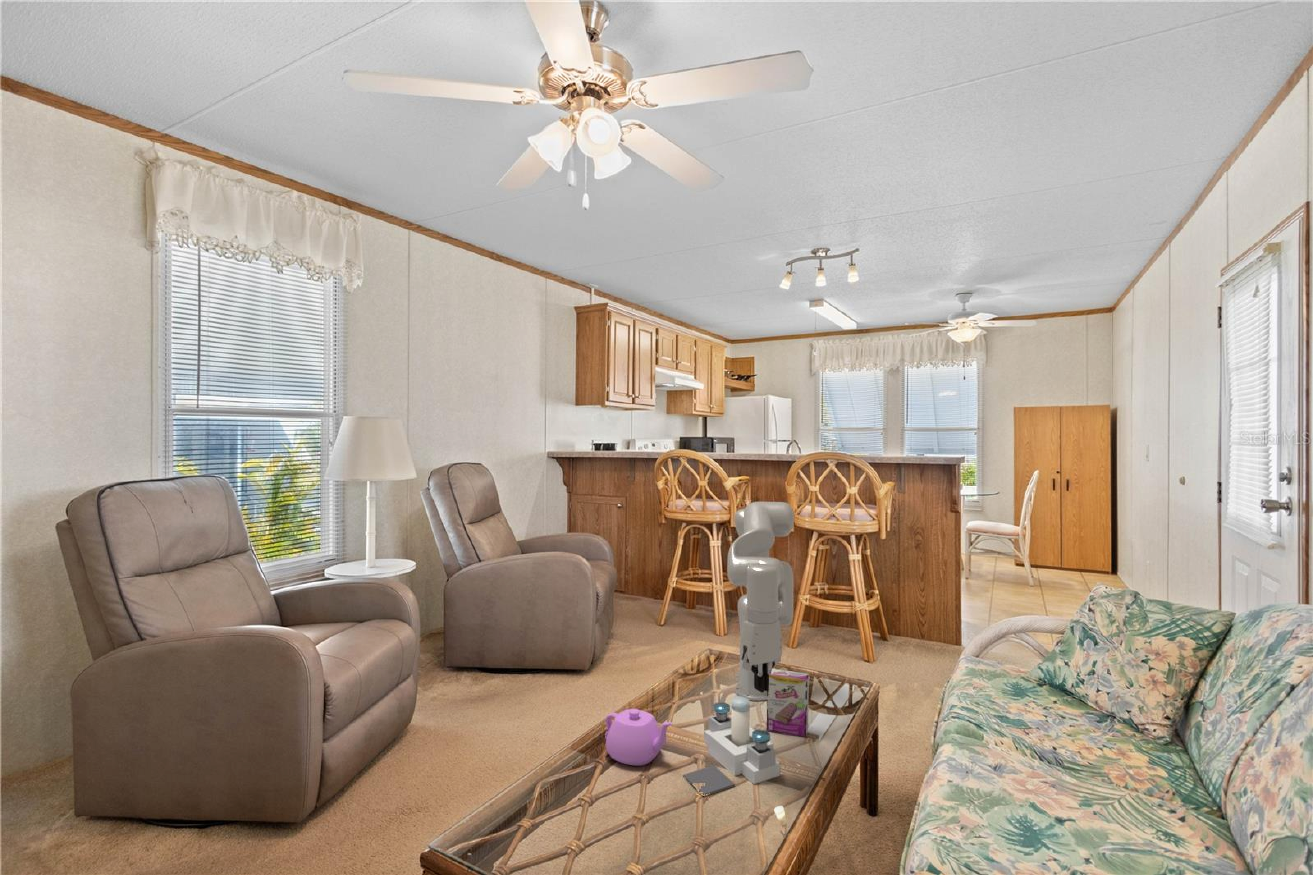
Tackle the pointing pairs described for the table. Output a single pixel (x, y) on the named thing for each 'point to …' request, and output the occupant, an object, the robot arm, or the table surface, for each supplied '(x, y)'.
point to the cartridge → (740, 721)
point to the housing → (740, 753)
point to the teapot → (634, 737)
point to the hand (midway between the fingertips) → (761, 689)
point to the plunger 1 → (721, 711)
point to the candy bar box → (788, 702)
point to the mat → (710, 780)
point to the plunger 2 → (761, 740)
